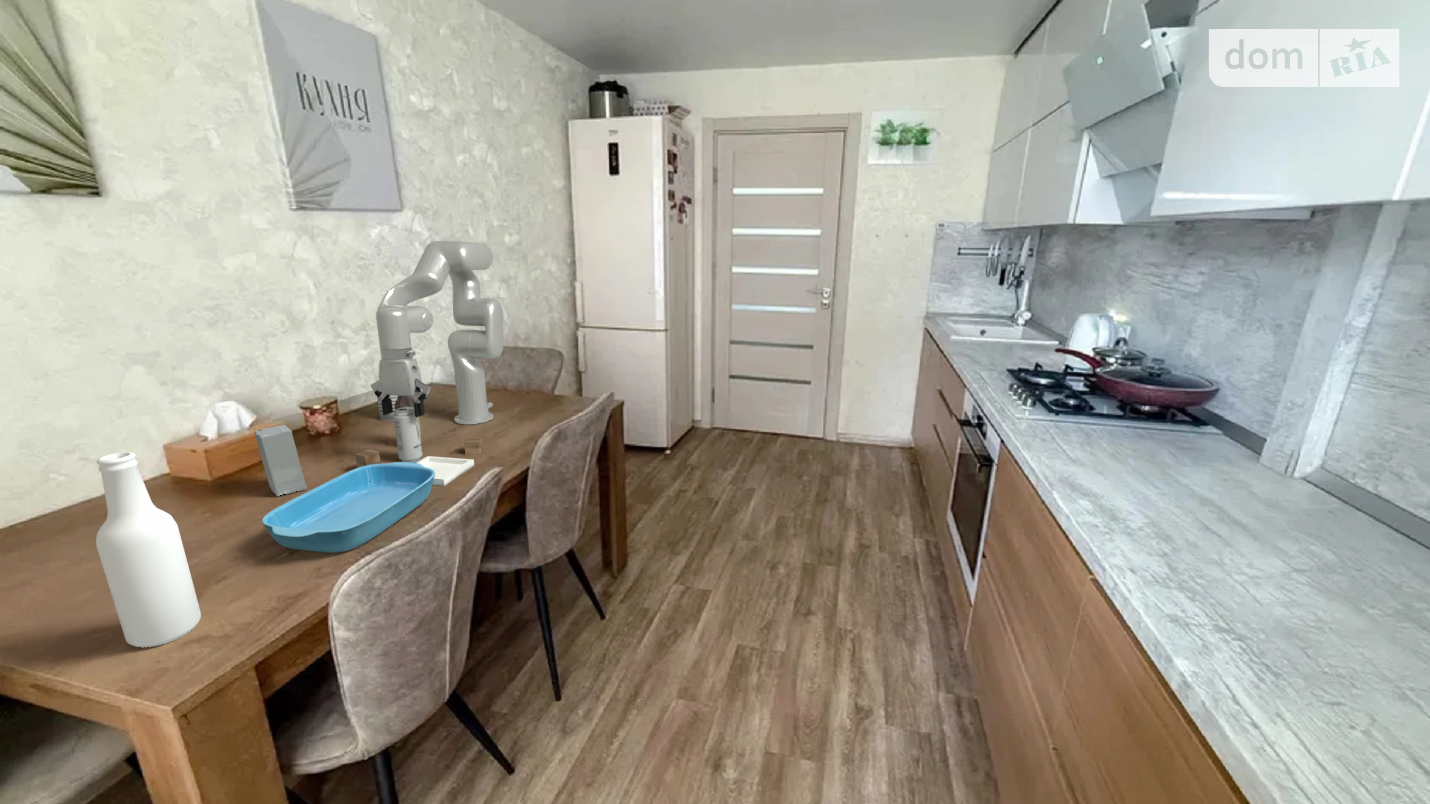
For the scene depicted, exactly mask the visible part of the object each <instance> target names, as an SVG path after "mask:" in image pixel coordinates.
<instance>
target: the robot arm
mask: <svg viewBox="0 0 1430 804" xmlns="http://www.w3.org/2000/svg"><path fill="white" fill-rule="evenodd" d="M493 260H494V255H493V252H492V249H491V248H490V246H489V245H487V244H486V243H484V242H470V241H461V240H460V241H459V240H457V241H455V240H454V241H453V240H435V241H431V242H430V243H428V244H427V245H426V246H425V249H424V250H423V253H422V254H421V256H420V258H419V260H418V263H417V264H416V267H415V269H414V270H413V273H412V274H411V275H409V276H408V277H405V278H404V279H402V280H401V281H399V282H398V283H396V284H395V285H394V286H392V287H390V288H389V289H388V290H387V291H386V293H385V294H384V296H383V298H382V299H381V301H380V304H379V306H378V308H377V310H376V312H375V319H376V326H377V328H376V329H377V336H378V343H379V350H380V351H379V352H380V359H379V364H378V380H377V381H375V382H373V383H371V384H370V387H371V389H372V390H373V393H374V395H375V396H376V398H377V397H378V398H379V401H381V403H382V410H383V415H387V414H390V413H392V412H393V408H392V400H391V399H389V397H390V396H391V395H394V396H411V397H412V399H413V400H414V401H415V402H416V403H414V412H415V417H419V418H420V417H422V416H424V415H425V405H424V404H425V401H426V399H427V398H428V397H429V396H430V395H429V394H430V393H431V392H430V391H431V389H432V387H431V386H429V385H428V384H427V383H424V382H423V381H422V375H421V371H420V368H419V367H420V366H419V364H418V362H417V359H416V358H414V357H415V356H416V351H415V350H413V347H412V339H411V333H412V334H413V333H414V334H416V333H417V334H421V333H424V332H427V331H429V330H430V329H431V328H432V326H433V324H434V315H433V313H432V312H431V310H429V308H427V307H425V306H421V305H409V304H410V303H413V302H414V301H418V300H421V299H424V298H427V297H430V296H433V295H435V294H438V293H439V292H440V291H442V289H443V287H444V285H445V283H446V280H447V278H448V276H449V277H450V279H451V280H450V281H451V283H452V315H453V316H452V317H453V320H454V322H455V323H456V324H458V325H461V326H465V327H466V326H468V327H469V326H470V327H471V326H472V327H473V326H474V327H484V328H485V329H483V330H482V329H480V330H479V329H478V330H477V329H457V330H454V331H453V332H451V333H450V334H449V336H448V338H447V347H448V350H449V353H450V356H451V357H450V358H451V361H452V365H453V372H454V381H455V382H454V383H455V384H454V385H455V393H456V400H457V409H458V411H457V412H458V414H457V415H455V417H454V418H453V419H454V422H455V423H457V424H458V425H459V424H460V425H478V423H479V424H484V423H487V422H490V421H491V420H493V418H494V414H493V413H492V412H490V411H489V409H491V408H492V407H493V406H494V404H493V402H491V401H490V402H488V398H487V397H488V395H487V387H486V375H485V369H484V366H483V364H482V363H481V361H480V360H479V359H483V360H484V359H485V360H486V359H491V360H492V359H498V358H499V357H500V356H501V355H502V353H503V350H504V312H503V307H502V305H501V303H500V301H498V300H497V299H496V298H493V297H482V296H481V283H480V279H479V278H478V277H477V275H476V274H475V273H474V271H485V270H487V269H489V268H490V267H491V266H492V264H493ZM379 386H380V388H379ZM380 389H381V390H380ZM489 420H490V421H489Z"/></svg>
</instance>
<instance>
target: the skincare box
mask: <svg viewBox="0 0 1430 804" xmlns="http://www.w3.org/2000/svg"><path fill="white" fill-rule="evenodd" d="M253 432H254V436H255V440H256V444H257V447H258V452H259V454H260V458H261V461H262V465H263V468H264V472H265V474H266V475H265V476H266V478H267V482H268V486H269V489H270V488H271V489H270V490H271V491H272V493H274V495H275V494H276V495H275V496H276V497H281V496H280V495H282V496H284V495H283V494H286V495H289V494H292V493H297V492H301V491H305V490H307V489H308V487H307V483H306V479H305V477H304V473H303V469H302V465H301V462H300V458H299V454H298V450H297V447H296V443H295V439H294V436H293V431H292V429H291V428H289V427H288V426H287V425H286V424H281V425H276V426H270V427H267V428H266V427H265V428H262V429H257V430H256V429H255V430H254V431H253ZM296 491H297V492H296Z"/></svg>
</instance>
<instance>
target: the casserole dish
mask: <svg viewBox="0 0 1430 804" xmlns="http://www.w3.org/2000/svg"><path fill="white" fill-rule="evenodd" d="M434 476H435V471H434V470H433V469H430V468H427V467H424V466H423V465H421V464H419V463H416V462H402V461H396V462H395V461H394V462H387V463H381V464H372V465H367V466H363V467H359V468H357V467H356V468H354V469H351V470H349V471H346V472H345V473H343V474H340V475H339V476H337V477H334V478H332V479H330V480H328V481H326V482H325V483H323V484H320V485H319V486H317V487H314V488H312V489H311V490H309V491H306V492H305V493H303V494H301V495H299V496H297V497H295V498H292V499H290V500H289V501H287V502H285V503H283V504H280V506H277V507H276V508H274V509H272V510H271V511H269V512H267V514H265V515H264V516H263V518H262V520H261V522H262V525H263V526H264V527H265V529H266V530H267V532H268V533H269V534H270V535H271V537H272V538H273V539H274V541H276V542H277V543H278V544H279V545H280V546H282V547H284V548H287V549H292V550H300V551H305V550H308V551H307V552H319V553H328V552H329V553H331V554H332V553H343V552H347V551H350V550H353V549H356V548H358V547H360V546H362V545H364V544H366V543H368V542H369V541H371V540H372V539H374V538H376V537H377V536H378V535H380V534H381V533H382V532H384V531H385V530H387V529H389V528H390V527H391V526H393V525H394V524H395V523H397V522H399V521H400V520H401V519H403V518H404V517H406V516H407V515H408V514H410V513H411V512H412V511H414V509H416V508H418V507H419V506H420V505H421V504H422V503H424V502H425V501H426V499H428V497H429V496H430V494H431V492H432V488H433V486H434V485H433V480H434ZM329 553H328V554H329Z"/></svg>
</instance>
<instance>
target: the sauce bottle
mask: <svg viewBox="0 0 1430 804" xmlns="http://www.w3.org/2000/svg"><path fill="white" fill-rule="evenodd" d="M414 403H416V402H415V401H414V400H413V399H412V397H411V396H398V398H397V400H396V402H395V410H396V409H398V408H402V407H413V408H414ZM418 422H419V430H420V438H421V439H422V432H421V422H420V417H418Z"/></svg>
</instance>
